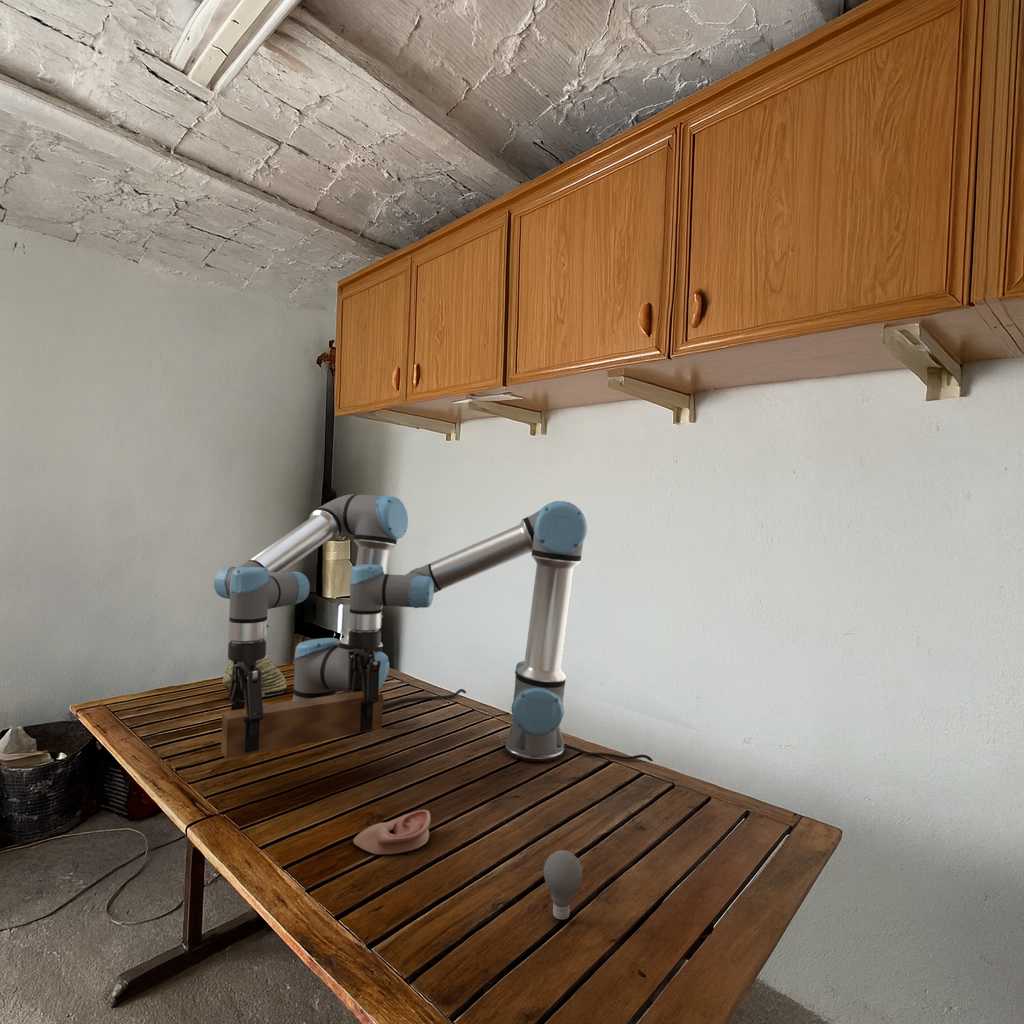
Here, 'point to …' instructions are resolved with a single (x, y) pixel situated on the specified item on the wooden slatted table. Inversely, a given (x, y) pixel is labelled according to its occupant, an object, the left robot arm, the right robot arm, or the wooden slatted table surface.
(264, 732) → the bar
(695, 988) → the wooden slatted table surface
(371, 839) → the anatomical model
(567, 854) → the light bulb
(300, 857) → the wooden slatted table surface
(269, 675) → the fossil
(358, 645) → the right robot arm
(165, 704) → the wooden slatted table surface
